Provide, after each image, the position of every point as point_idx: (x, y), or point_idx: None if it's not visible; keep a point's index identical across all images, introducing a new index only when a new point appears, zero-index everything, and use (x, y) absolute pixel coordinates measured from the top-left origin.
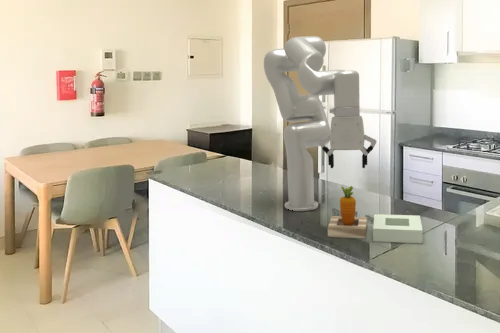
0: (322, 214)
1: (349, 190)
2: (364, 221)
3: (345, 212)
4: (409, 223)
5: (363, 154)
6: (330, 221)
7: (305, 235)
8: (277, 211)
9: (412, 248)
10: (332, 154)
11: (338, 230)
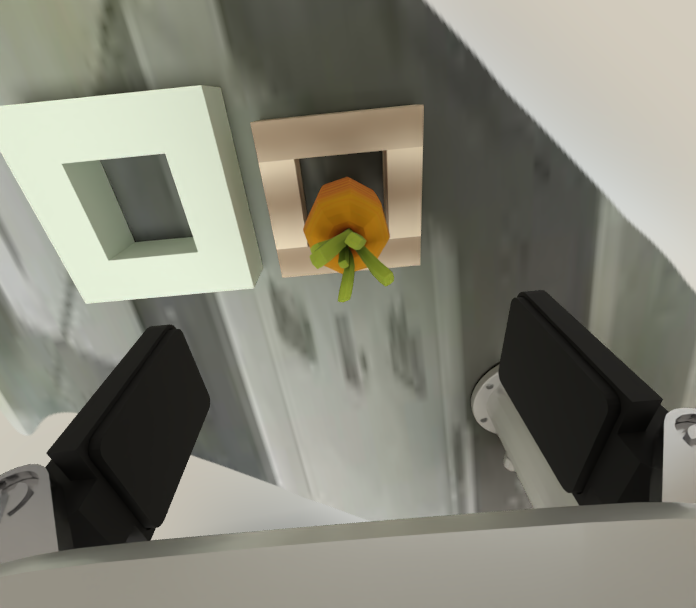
0: (453, 342)
1: (332, 239)
2: (280, 225)
3: (351, 180)
4: (78, 200)
5: (82, 490)
6: (418, 197)
7: (510, 101)
8: (606, 343)
9: (34, 27)
10: (603, 470)
11: (372, 109)
